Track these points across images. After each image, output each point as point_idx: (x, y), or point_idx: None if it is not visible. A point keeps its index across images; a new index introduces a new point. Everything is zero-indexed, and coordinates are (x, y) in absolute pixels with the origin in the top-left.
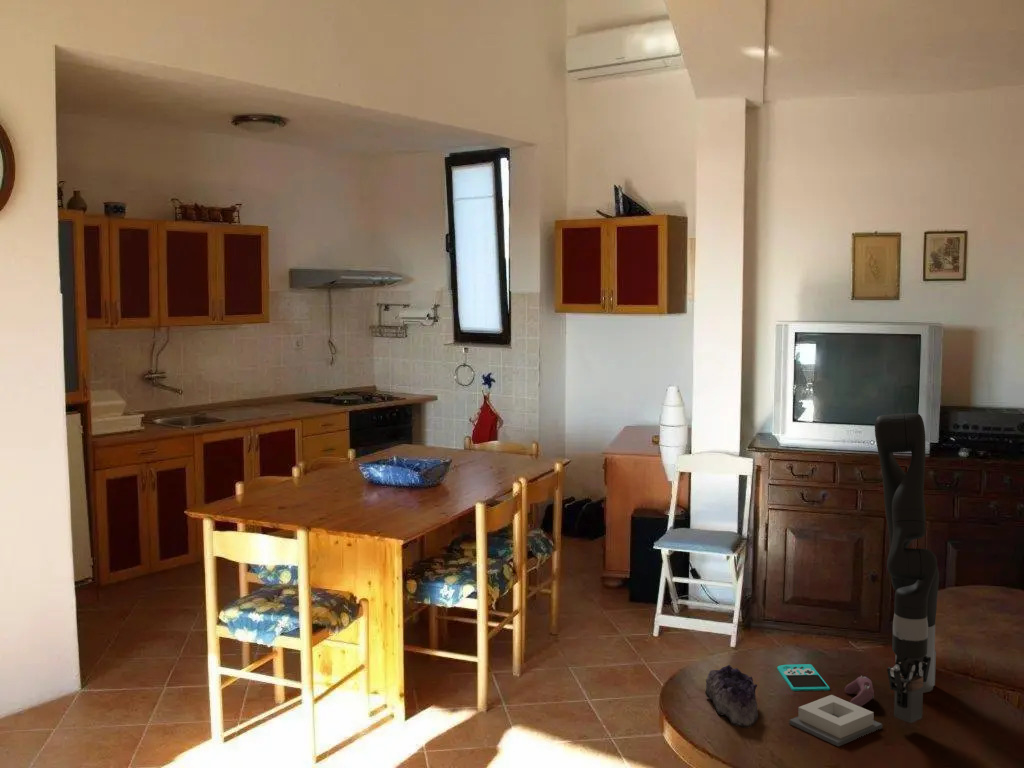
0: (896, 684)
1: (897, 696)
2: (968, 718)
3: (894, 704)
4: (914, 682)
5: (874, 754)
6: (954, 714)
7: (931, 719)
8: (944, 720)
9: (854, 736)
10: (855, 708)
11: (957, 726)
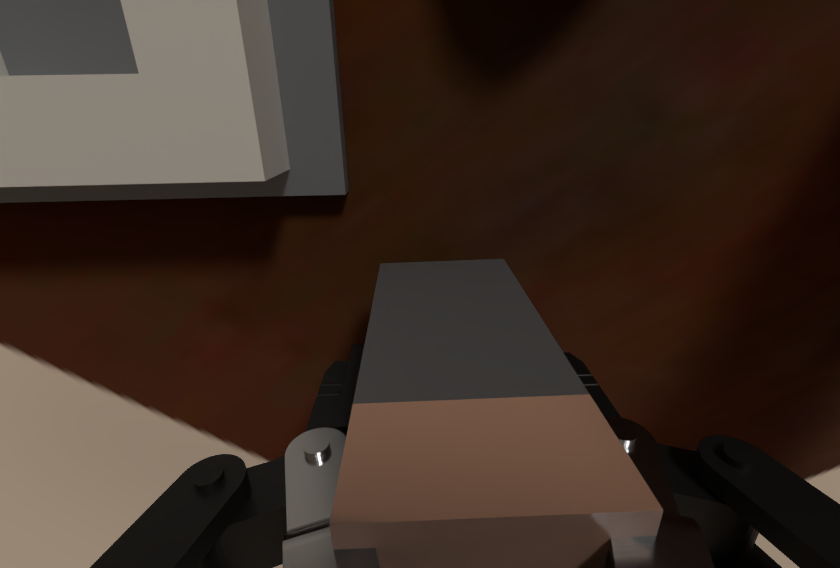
0: (288, 497)
1: (312, 415)
2: (781, 352)
3: (373, 301)
4: None
5: (95, 345)
6: (788, 296)
7: (652, 269)
8: (685, 308)
9: (77, 200)
10: (178, 41)
11: (661, 372)
